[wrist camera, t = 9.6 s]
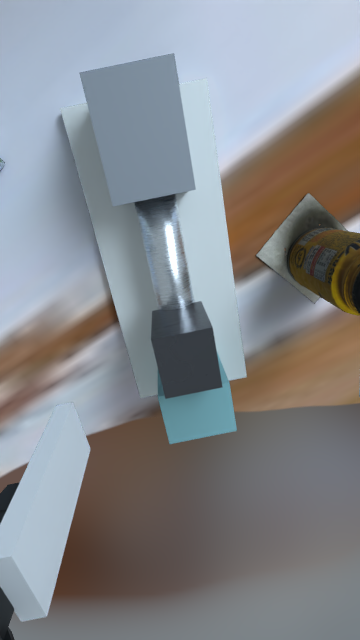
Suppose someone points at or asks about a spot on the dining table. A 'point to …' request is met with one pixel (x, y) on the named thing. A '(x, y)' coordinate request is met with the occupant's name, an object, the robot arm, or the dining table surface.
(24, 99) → the dining table surface
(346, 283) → the condiment
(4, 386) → the dining table surface
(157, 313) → the tube
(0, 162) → the syrup box
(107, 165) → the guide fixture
